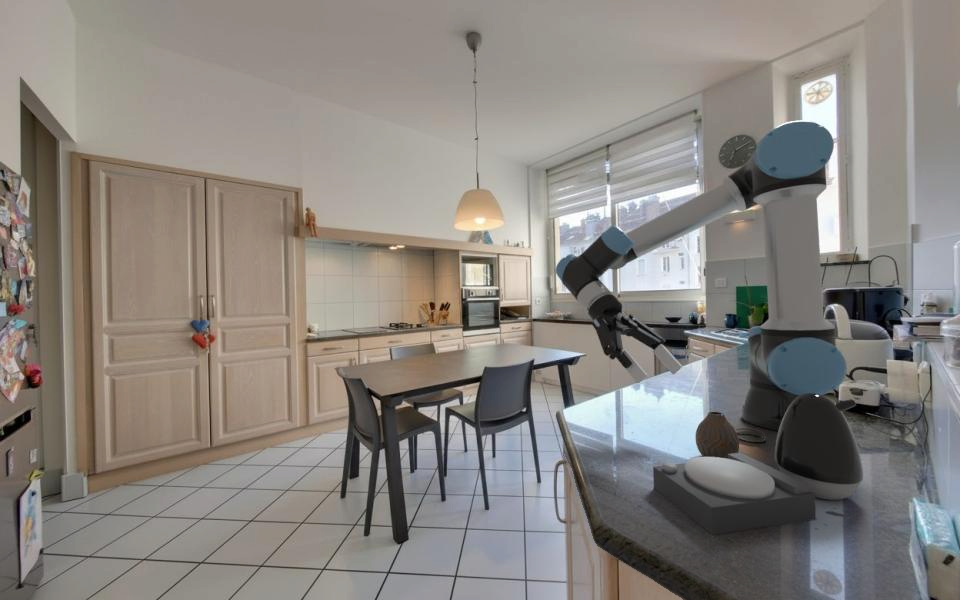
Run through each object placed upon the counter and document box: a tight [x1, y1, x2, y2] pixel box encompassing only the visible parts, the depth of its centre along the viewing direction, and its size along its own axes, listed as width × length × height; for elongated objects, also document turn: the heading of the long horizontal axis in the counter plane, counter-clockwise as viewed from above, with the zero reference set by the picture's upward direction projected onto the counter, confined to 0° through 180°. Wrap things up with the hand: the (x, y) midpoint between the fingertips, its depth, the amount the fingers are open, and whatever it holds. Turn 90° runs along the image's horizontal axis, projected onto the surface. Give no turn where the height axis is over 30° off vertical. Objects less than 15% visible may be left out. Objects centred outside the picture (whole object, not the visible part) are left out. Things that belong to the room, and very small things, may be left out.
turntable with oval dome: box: [652, 452, 817, 536], centre depth 55 cm, size 16×12×4 cm
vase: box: [695, 410, 740, 459], centre depth 69 cm, size 7×7×9 cm
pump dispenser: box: [773, 393, 864, 501], centre depth 58 cm, size 10×10×15 cm
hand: (661, 374), depth 78 cm, fingers open, 13 cm apart
